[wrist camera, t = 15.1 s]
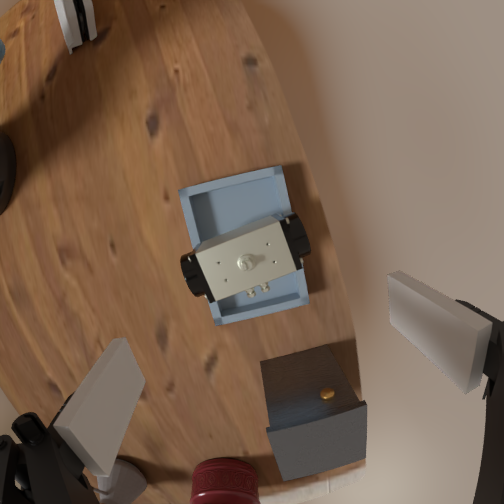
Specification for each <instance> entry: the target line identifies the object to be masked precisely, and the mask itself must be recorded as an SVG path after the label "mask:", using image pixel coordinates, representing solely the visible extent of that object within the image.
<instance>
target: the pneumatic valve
mask: <svg viewBox="0 0 504 504" xmlns="http://www.w3.org/2000/svg"><path fill="white" fill-rule="evenodd" d="M310 253H311V248H310V244H309V240H308V237H307V234H306V231H305V229H304V227H303V224H302V222H301V220H300V219H299V217H298V215H297V214H296V213H295V212H293V213H290V214H288V215H285V216H282V215H281V214H280V215H278V214H273V215H270V216H268V217H265V218H262V219H260V220H257V221H255V222H252V223H249V224H247V225H244V226H242V227H239V228H236V229H234V230H231V231H229V232H226V233H224V234H221V235H218V236H216V237H213V238H211V239H208V240H206V241H203V242H201V243H198V244H197V245H196V247H195V248H194V249H193V251H192V252H190V253H187V254H185V255H182V256H181V259H180V263H181V269H182V272H183V275H184V278H185V281H186V283H187V285H188V287H189V289H190V290H191V292H192V293H193V295H194V296H196V297H200V296H202V295H205V297H206V299H208V301H209V303H213V302H216V301H219V300H221V299H224V298H227V297H229V296H232V295H235V294H237V293H240V292H243V291H245V292H246V293H248V294H247V296H248V297H249V298H252V297H254V296H255V295H256V292H255V291H254V287H256V286H260V288H261V291H262V292H263V293H264V292H268V291H269V290H270V286H268V282H269V281H272V280H274V279H277V278H280V277H282V276H285V275H287V274H290V273H292V272H295V271H298V270H300V269H303V267H302V263H303V259H302V257H305V256H307V255H310Z"/></svg>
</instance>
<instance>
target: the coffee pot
mask: <svg viewBox="0 0 504 504" xmlns="http://www.w3.org/2000/svg"><path fill="white" fill-rule="evenodd" d="M97 481H98V487H99V489H96V488H94V487H92V486H91V487H92V489H93V491H95V492H97V493H100V499H101V500H100V501H99V503H100V504H131V503H132V502H133V501H134V500H135V499H136V498H137V497H138V496H139V495H140V494H141V493H142V492H143V491H144V490H145V489H146V487H147V482H146V479H145V477H144V476H143V474H142V473H141V472H140V471H139V469H138V468H137V467H135V466H134V465H132V464H131V463H129V462H126V461H124V460H120V459H115V462H114V464H113V467H112V470H111V473H110V476H109V477H104V476H97Z"/></svg>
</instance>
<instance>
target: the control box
mask: <svg viewBox="0 0 504 504" xmlns="http://www.w3.org/2000/svg"><path fill="white" fill-rule="evenodd" d="M260 365H261V372H262V378H263V385H264V391H265V398H266V404H267V410H268V417H269V423H270V427H267V428H266V432H267V435H268V438H269V441H270V444H271V447H272V450H273V453H274V456H275V459H276V462H277V464H278V467H279V470H280V473H281V476H282V478H283V481H287V480H292V479H297V478H301V477H305V476H309V475H313V474H317V473H320V472H324V471H328V470H331V469H334V468H338V467H341V466H344V465H347V464H350V463H353V462H356V461H359V460H362V459H364V458H366V440H367V404H366V402H365V400H363V401H361V402H360V401H359V399H358V397H357V396H356V394H355V392H354V390H353V389H352V387H351V385H350V383H349V382H348V380H347V378H346V377H345V375H344V373H343V371H342V370H341V368H340V366H339V364H338V363H337V361H336V359H335V358H334V356H333V354H332V352H331V351H330V349H329V347H328V346H327V344H326V345H323V346H319V347H316V348H312V349H309V350H305V351H301V352H298V353H294V354H290V355H286V356H282V357H278V358H274V359H269V360H265V361H261V362H260Z"/></svg>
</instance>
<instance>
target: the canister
mask: <svg viewBox="0 0 504 504" xmlns="http://www.w3.org/2000/svg"><path fill="white" fill-rule="evenodd" d="M192 482H193V483H192V493H191V499H190V504H260V501H259V493H258V476H257V474H256V471H255V469H254V468H253V467H252V466H251V465H249V464H247V463H245V462H242V461H239V460H235V459H226V458H220V459H211V460H207V461H204V462H202V463H200V464H199V465H197V466H196V468H195V470H194V472H193V475H192Z"/></svg>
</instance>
